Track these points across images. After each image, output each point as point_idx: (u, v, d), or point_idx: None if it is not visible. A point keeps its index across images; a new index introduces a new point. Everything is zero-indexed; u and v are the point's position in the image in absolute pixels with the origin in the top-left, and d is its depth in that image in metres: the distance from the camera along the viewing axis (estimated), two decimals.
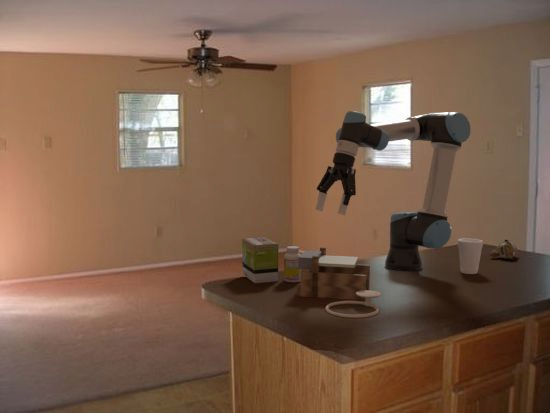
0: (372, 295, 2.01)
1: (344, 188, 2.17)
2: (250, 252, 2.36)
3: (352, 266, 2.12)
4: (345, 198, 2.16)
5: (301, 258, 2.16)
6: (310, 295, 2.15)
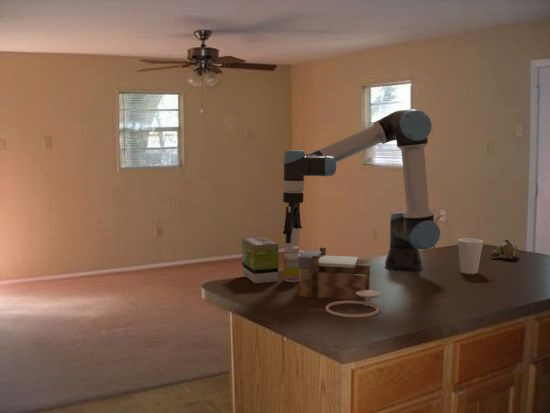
0: (372, 295, 2.02)
1: None
2: (250, 252, 2.36)
3: (352, 266, 2.12)
4: (286, 236, 2.29)
5: (301, 258, 2.16)
6: (310, 295, 2.15)
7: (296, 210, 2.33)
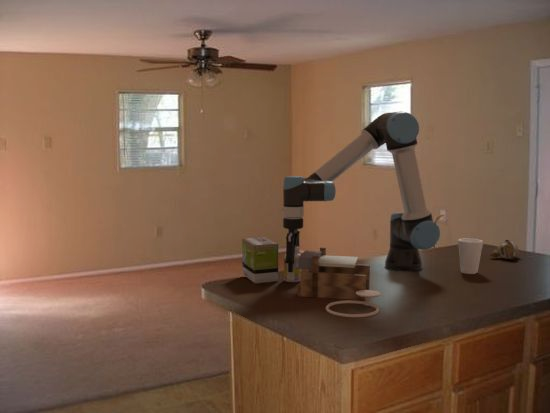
0: (372, 295, 2.02)
1: None
2: (250, 252, 2.36)
3: (352, 266, 2.12)
4: None
5: (301, 258, 2.16)
6: (310, 295, 2.15)
7: (296, 237, 2.34)
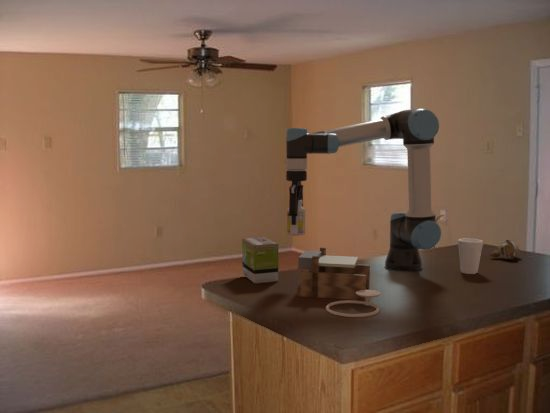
0: (372, 294, 2.02)
1: None
2: (250, 252, 2.36)
3: (352, 266, 2.12)
4: (291, 218, 2.30)
5: (301, 258, 2.16)
6: (310, 295, 2.15)
7: (299, 189, 2.31)
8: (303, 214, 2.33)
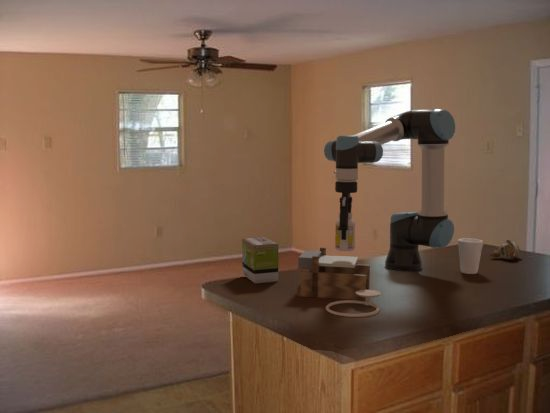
0: (372, 294, 2.02)
1: None
2: (250, 252, 2.36)
3: (352, 266, 2.12)
4: (341, 233, 2.14)
5: (301, 258, 2.16)
6: (310, 295, 2.15)
7: (350, 201, 2.15)
8: (353, 228, 2.17)
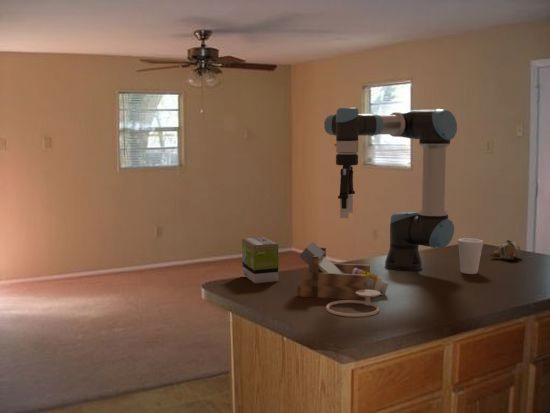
0: (372, 294, 2.02)
1: None
2: (250, 252, 2.36)
3: None
4: (341, 201, 2.10)
5: (307, 250, 2.16)
6: (310, 295, 2.15)
7: (351, 173, 2.14)
8: None
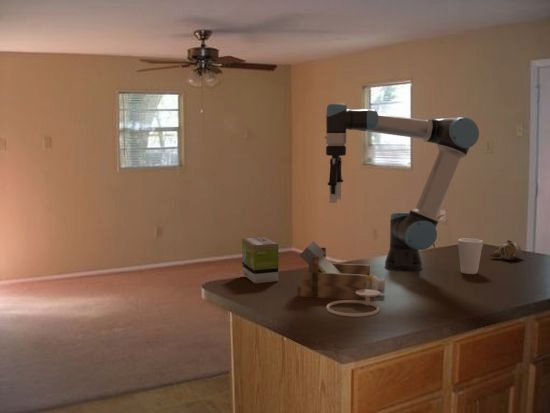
0: (372, 294, 2.03)
1: None
2: (250, 252, 2.36)
3: None
4: (331, 188, 2.34)
5: (308, 250, 2.16)
6: (310, 295, 2.15)
7: (339, 162, 2.38)
8: None
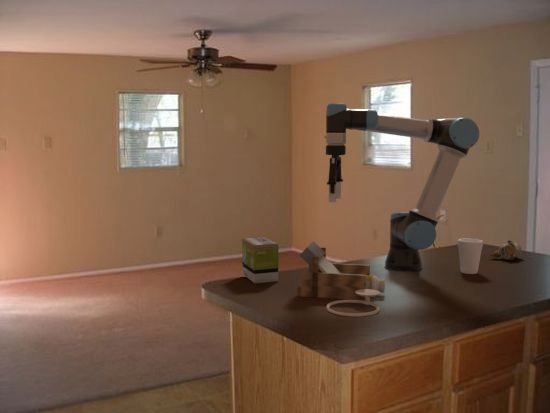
0: (372, 294, 2.03)
1: None
2: (250, 252, 2.36)
3: None
4: None
5: (308, 250, 2.16)
6: (310, 295, 2.15)
7: (339, 162, 2.38)
8: None
